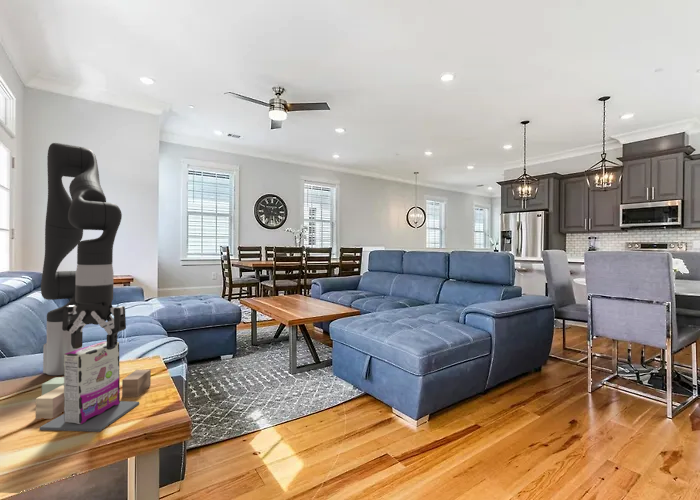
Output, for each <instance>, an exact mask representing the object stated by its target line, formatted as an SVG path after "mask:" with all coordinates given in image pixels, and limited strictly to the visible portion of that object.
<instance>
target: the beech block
mask: <svg viewBox="0 0 700 500" xmlns="http://www.w3.org/2000/svg"><path fill="white" fill-rule="evenodd" d="M62 412H63V413H64V385H62V386H60V387H58V388H56V389H54V390H52V391H50V392H48V393H46V394H44V395H42V394H41V396H38V397H37V398H35V419H36V420H38V419H41V418H44V419H43V420H45V419H46V420H49V419H51V420H53V419H55V418H57V417H59V416H60V415H62ZM52 418H53V419H52ZM41 420H42V419H41Z"/></svg>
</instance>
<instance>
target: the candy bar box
mask: <svg viewBox="0 0 700 500" xmlns="http://www.w3.org/2000/svg"><path fill="white" fill-rule="evenodd" d="M63 377H64V412H63V414H64V420H65V423H72V424H83V423H85V422H87V421H89V420H90V419H92V418H94V417H96V416H98V415H100V414H102V413H103V412H105V411H107V410H109V409H111V408H113V407H115V406H116V405H118V404H120V401H121V399H120V398H121V397H120V396H121V395H120V394H121V393H120V390H121V389H120V385H121V384H120V379H121V377H120V341H117V346H116V347H115V348H113V349H111V350H107V340H106V341H101V342H98V343H94V344H92V345H88V346H84V347H82V348H81V349H78V350H75V351H72V352H68V353H65V354H64V374H63Z"/></svg>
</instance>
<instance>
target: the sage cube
mask: <svg viewBox="0 0 700 500" xmlns="http://www.w3.org/2000/svg"><path fill="white" fill-rule="evenodd" d="M62 385H64V376H62V377H60V376H58V377H53V378H51V379H49V380H48V381H45V382H43V383H41V396H42V395H44V394H46V393H48V392H50V391H52V390H54V389H56V388H58V387H60V386H62Z"/></svg>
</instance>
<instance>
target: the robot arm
mask: <svg viewBox="0 0 700 500" xmlns="http://www.w3.org/2000/svg"><path fill="white" fill-rule="evenodd" d="M64 177H65V178H66V177H67V178H73V179H72V180H71V182H70V183H69V187H68V189H69V194H68V191H67V190H66V188H65V186H64V184H63V180H62V179H63V178H64ZM100 181H101V180H100V172H99V166H98V160H97V157H96V155H95V152H94V151H93V150H91V149H90V148H88V147H84V146H77V145H72V144H65V143H59V142H52V143H51V144H50V145H49V146H48V149H47V203H46V214H45V225H44V233H45V234H44V260H43V264H42V265H43V267H42V275H41V281H40V293H41V297H42V298H43V299H44V300H47V301H52V300H53V301H56V300H67V299H69V301H68V302H67V303H66V304H64V305H63V306H60V307H58V308H55V309H52V310H49V311H48V312H47V313H46V343H44V344H43V346H42V347H43V348H42V349H43V357H42V359H43V361H42V365H43V366H42V374H46V375H47V376H61V375H63V376H64V354H65V353H68V352H72V351H75V350H78V349H81V348H83V339H84V338H83V337H84V336H83V334H84V333H83V329H84V328H85V326H87V325H95V326H97V325H99V326H100V328H102V329H104V331H105V333H107V334H106V341H107V350H111V349H113V348H115V347H116V346H117V342H118V334H119V332H121V331H125V330H126V328H127V323H126V322H127V321H126V307H125V306H124V305H121V306H115V307H114V306H113V304H112V302H113V300H114V267H113V255H114V254H113V251H114V245H115V244H114V243H115V239H116V236H117V233H118V229H119V228H120V225H121V221H122V217H123V216H122V215H123V214H122V211H121V209H120V207H119V206H118V205H117V203H113V202H108V201H107V197H106V196H105V193H104V191H103V188H102V187H101V182H100ZM85 230H86V231H87V230H88V231H102V233H101V235H100V236H98V237H96V238H91V239H84V240H82V239H83V237H84V231H85ZM76 247H77V248H76ZM75 248H76V249H77V251H76V270H61V271H59V270H58V268H59V266H60V264H61V263H62V262H63V260H64V259H65V258H66V257H67V255H68V254H70V253H71V252H72V251H74V249H75Z"/></svg>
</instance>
